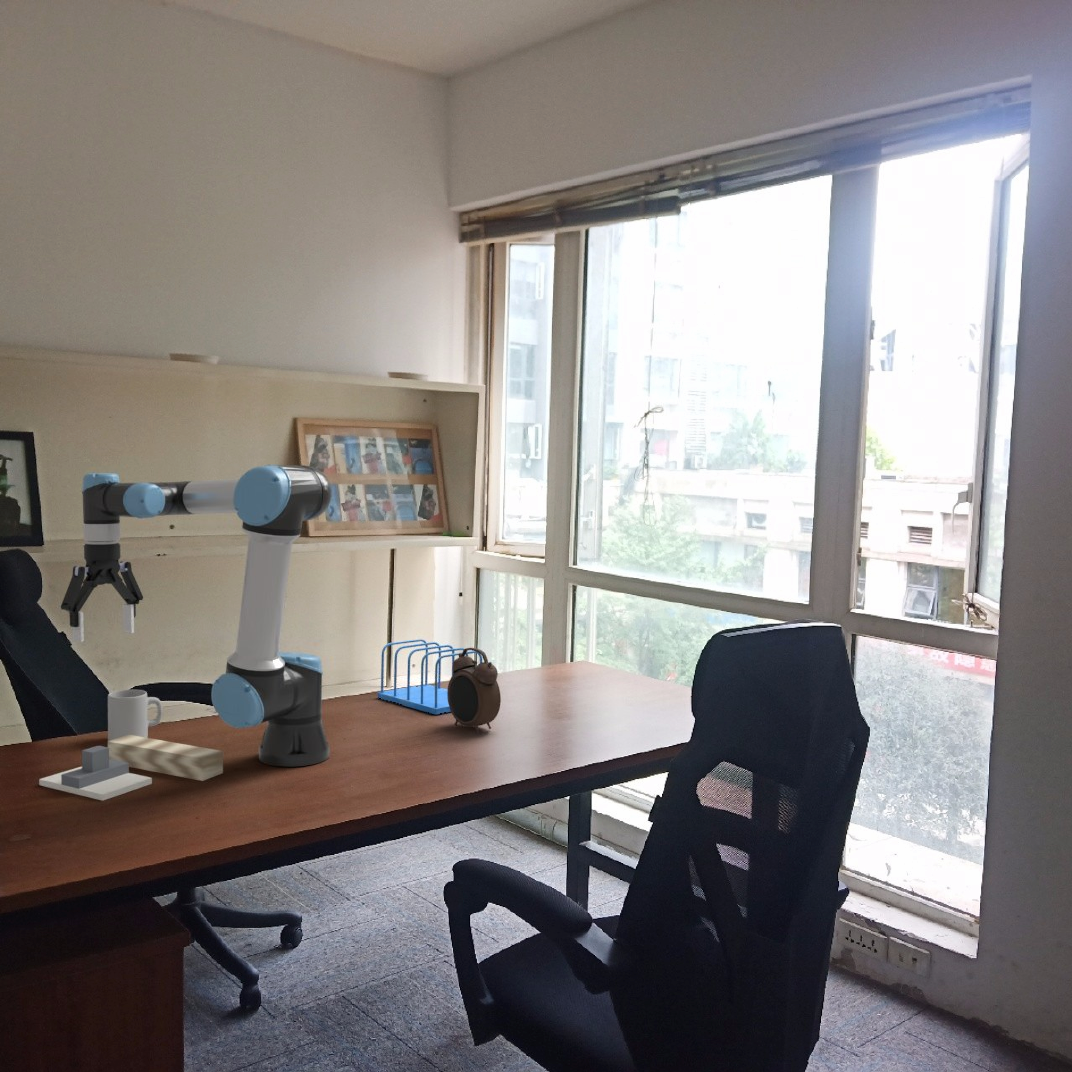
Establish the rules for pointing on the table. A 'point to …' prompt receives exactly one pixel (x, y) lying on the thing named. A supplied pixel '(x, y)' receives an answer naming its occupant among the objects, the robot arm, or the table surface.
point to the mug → (130, 713)
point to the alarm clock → (473, 691)
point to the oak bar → (167, 757)
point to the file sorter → (422, 695)
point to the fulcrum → (97, 776)
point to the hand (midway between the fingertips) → (104, 637)
